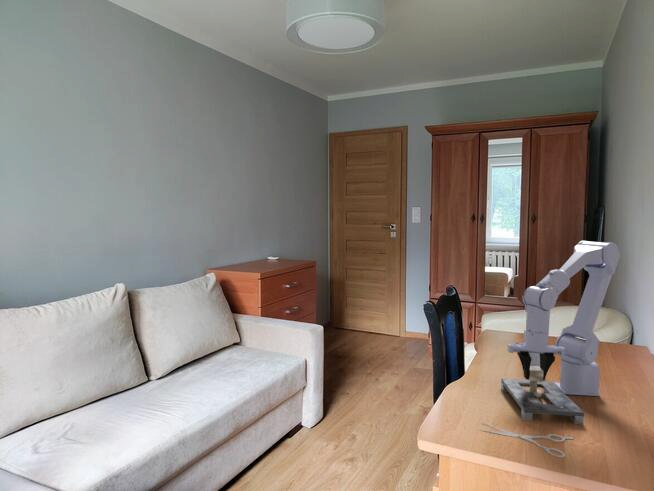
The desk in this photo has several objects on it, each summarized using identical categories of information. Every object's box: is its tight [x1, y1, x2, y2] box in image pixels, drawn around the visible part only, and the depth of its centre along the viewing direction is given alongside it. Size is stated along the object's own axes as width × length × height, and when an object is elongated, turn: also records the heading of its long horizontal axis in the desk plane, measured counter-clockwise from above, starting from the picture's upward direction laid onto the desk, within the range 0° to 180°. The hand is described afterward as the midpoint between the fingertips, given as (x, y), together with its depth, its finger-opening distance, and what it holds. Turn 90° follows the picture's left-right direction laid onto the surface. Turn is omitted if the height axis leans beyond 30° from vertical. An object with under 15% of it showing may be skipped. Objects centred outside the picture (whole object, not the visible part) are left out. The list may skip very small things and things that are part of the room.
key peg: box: [523, 366, 544, 399], centre depth 123 cm, size 4×4×8 cm
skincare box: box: [522, 329, 540, 367], centre depth 147 cm, size 6×4×12 cm
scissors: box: [481, 422, 574, 458], centre depth 101 cm, size 11×1×20 cm
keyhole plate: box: [500, 378, 585, 425], centre depth 119 cm, size 14×20×3 cm
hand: (534, 378), depth 122 cm, fingers closed on key peg, 3 cm apart
